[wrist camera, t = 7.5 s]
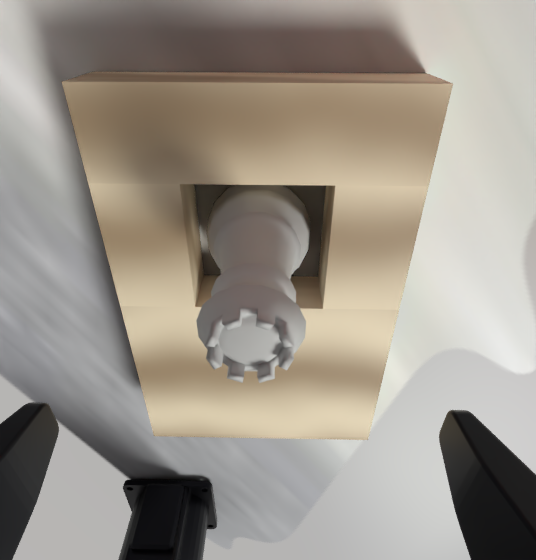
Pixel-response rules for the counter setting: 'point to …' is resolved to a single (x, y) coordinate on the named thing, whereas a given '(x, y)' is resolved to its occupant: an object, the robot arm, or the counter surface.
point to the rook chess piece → (255, 280)
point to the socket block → (259, 171)
